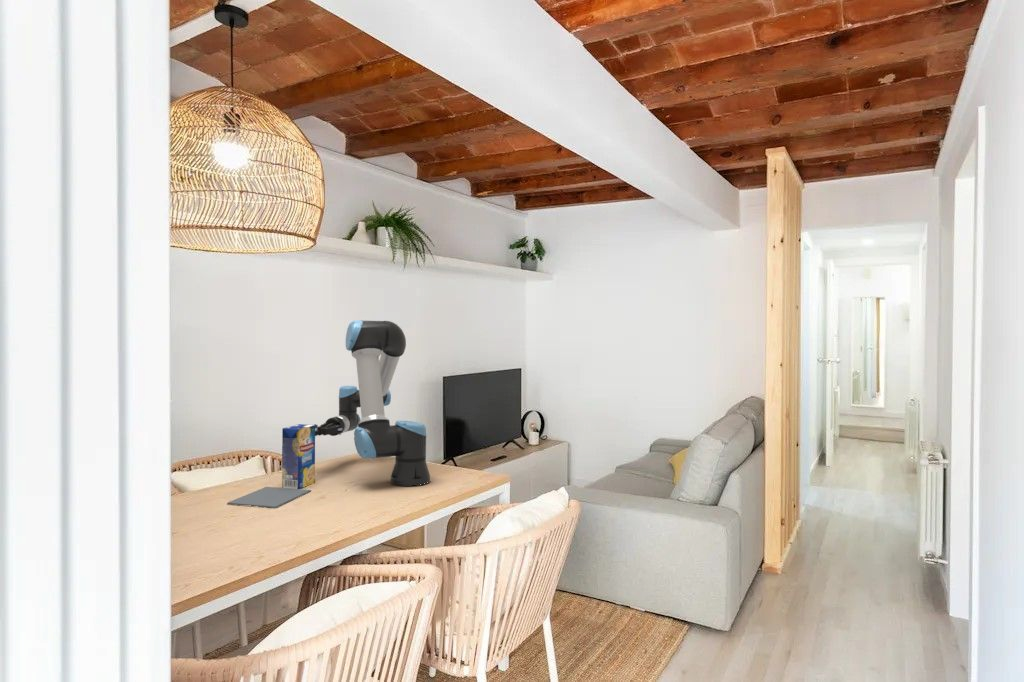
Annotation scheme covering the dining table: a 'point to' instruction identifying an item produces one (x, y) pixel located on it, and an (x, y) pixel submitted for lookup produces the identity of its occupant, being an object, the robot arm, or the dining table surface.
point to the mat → (270, 497)
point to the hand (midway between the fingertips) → (306, 434)
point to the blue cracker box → (298, 456)
